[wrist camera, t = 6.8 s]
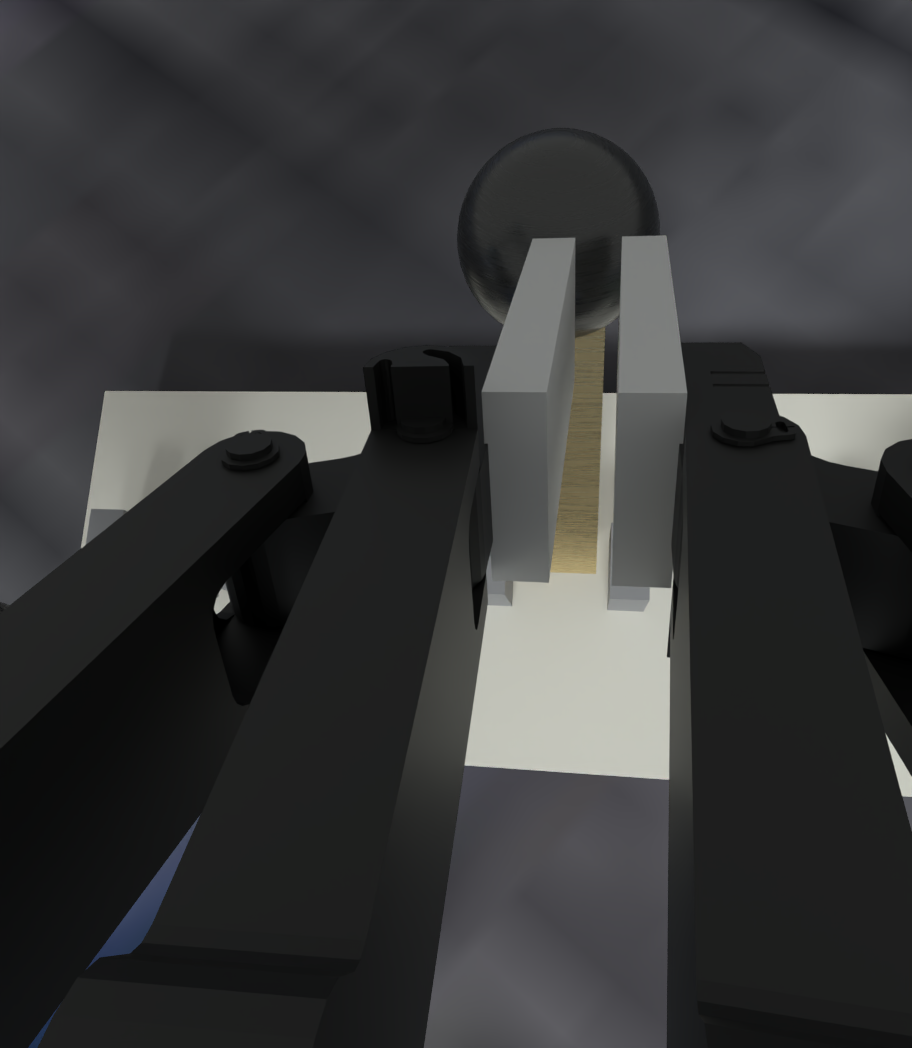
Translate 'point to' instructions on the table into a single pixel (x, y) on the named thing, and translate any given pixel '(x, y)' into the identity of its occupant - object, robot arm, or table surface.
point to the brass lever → (598, 226)
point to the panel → (513, 607)
